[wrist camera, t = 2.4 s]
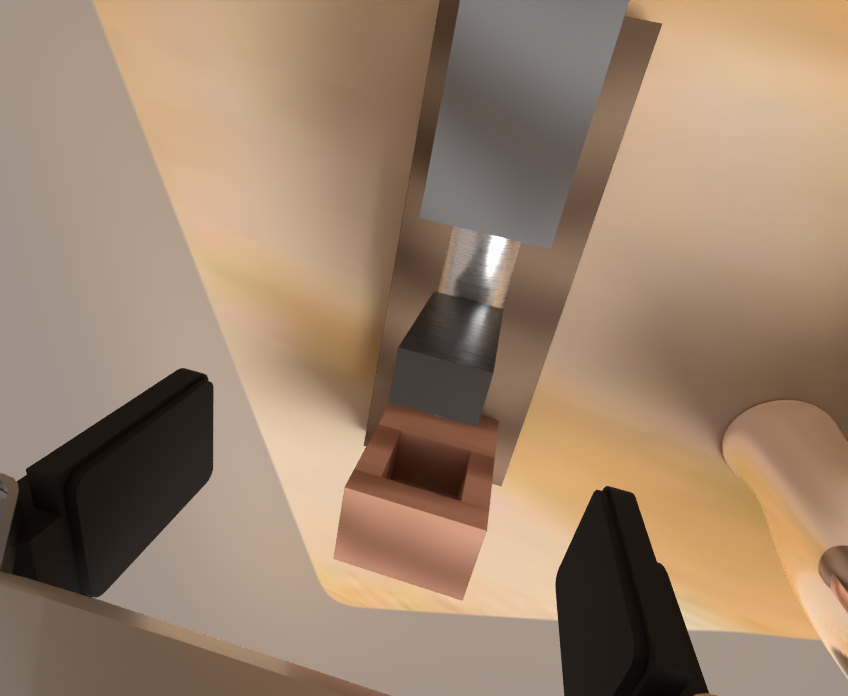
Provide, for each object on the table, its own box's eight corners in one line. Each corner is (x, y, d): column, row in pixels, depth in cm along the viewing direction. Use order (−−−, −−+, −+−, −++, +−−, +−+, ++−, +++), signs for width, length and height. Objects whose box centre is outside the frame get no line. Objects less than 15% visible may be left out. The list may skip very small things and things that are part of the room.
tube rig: (448, -8, 23) (386, -119, 13) (654, 30, 22) (755, -59, 12) (370, 433, 35) (306, 550, 25) (502, 472, 34) (490, 609, 24)
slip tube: (521, -72, 17) (513, -266, 9) (605, -58, 17) (676, -246, 8) (421, 380, 25) (370, 493, 17) (476, 394, 25) (450, 518, 17)
